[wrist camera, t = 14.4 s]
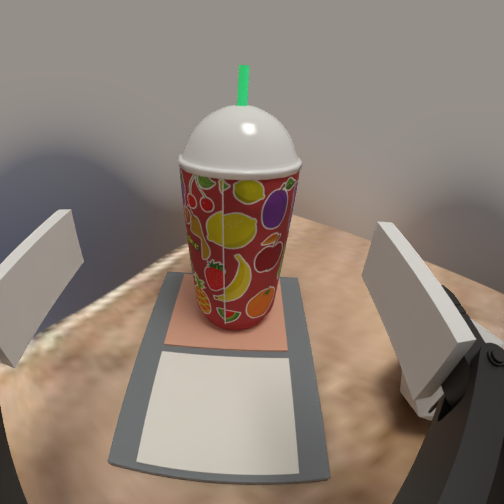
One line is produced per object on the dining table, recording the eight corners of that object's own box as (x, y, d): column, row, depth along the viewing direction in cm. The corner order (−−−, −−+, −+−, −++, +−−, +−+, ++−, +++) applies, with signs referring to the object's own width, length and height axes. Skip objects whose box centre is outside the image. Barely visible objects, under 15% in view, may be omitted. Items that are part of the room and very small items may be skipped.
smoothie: (198, 277, 30) (194, 69, 19) (279, 283, 30) (301, 73, 19) (180, 338, 23) (159, 62, 12) (282, 346, 23) (322, 66, 12)
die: (397, 457, 15) (519, 414, 9) (361, 359, 19) (483, 296, 13) (426, 412, 21) (515, 372, 15) (397, 336, 24) (484, 286, 18)
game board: (296, 283, 32) (297, 276, 31) (326, 480, 14) (331, 476, 13) (168, 277, 31) (167, 270, 31) (111, 465, 13) (106, 460, 13)
